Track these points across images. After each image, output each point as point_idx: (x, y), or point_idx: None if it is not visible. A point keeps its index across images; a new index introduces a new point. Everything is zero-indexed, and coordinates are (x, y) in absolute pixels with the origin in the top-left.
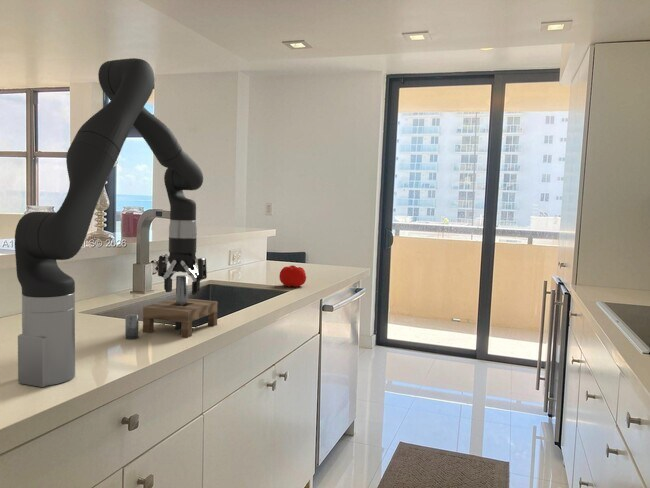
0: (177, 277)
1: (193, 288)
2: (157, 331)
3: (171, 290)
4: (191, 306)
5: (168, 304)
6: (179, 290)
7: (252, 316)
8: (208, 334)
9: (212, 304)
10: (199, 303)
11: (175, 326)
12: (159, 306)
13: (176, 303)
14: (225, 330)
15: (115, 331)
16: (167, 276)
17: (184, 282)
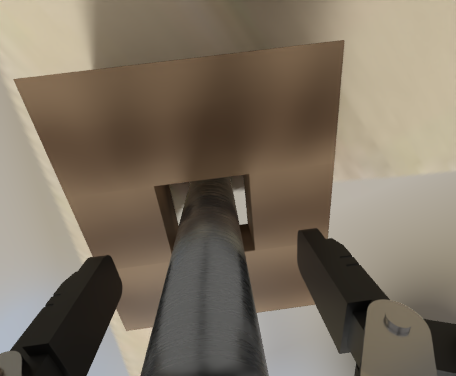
0: (219, 349)
1: (70, 287)
2: None
3: (299, 267)
4: (125, 203)
5: (258, 180)
6: (196, 245)
7: (143, 357)
8: None
9: None
10: (152, 270)
11: None
12: (266, 111)
13: (220, 199)
14: (78, 226)
15: (394, 10)
16: (371, 335)
17: (156, 321)
